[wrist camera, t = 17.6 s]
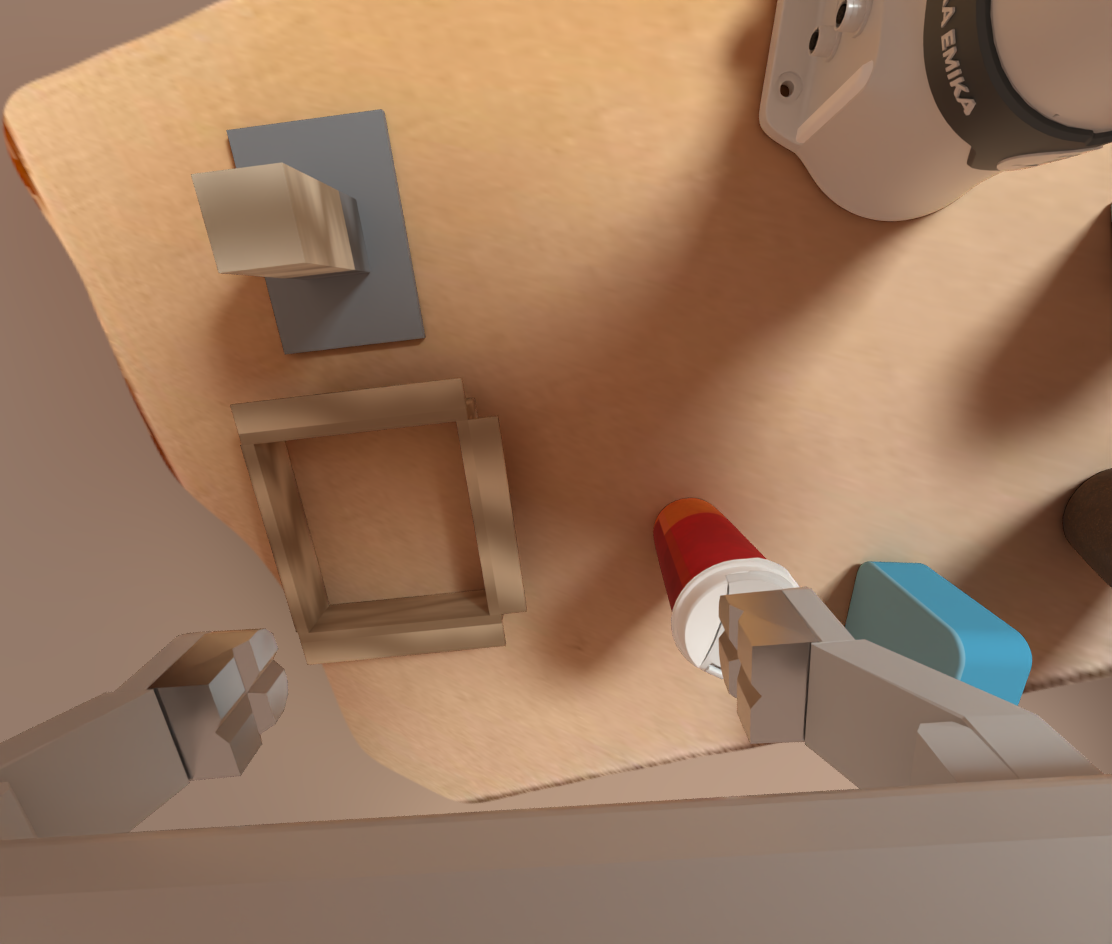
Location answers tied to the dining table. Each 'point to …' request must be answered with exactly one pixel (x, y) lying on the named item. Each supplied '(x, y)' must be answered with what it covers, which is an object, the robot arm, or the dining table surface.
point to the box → (280, 224)
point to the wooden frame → (317, 623)
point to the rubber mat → (369, 177)
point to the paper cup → (707, 574)
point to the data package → (938, 627)
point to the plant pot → (1092, 523)
